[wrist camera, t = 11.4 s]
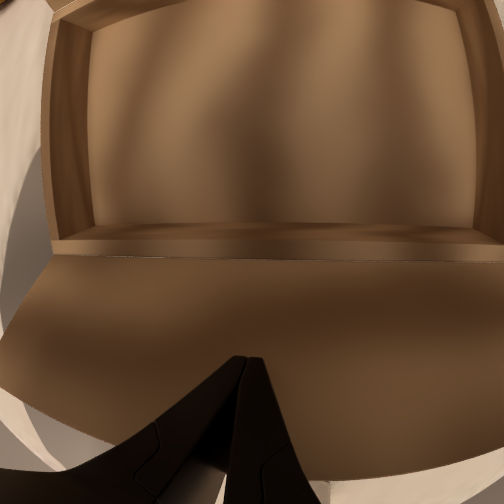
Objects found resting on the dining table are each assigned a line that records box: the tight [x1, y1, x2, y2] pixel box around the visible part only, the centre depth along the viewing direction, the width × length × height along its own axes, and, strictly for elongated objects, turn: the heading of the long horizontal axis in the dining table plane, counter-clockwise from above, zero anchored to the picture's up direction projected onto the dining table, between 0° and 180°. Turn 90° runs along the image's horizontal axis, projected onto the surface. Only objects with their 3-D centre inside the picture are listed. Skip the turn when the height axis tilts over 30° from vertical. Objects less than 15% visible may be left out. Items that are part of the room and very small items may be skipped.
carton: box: [41, 0, 504, 262], centre depth 12 cm, size 24×15×4 cm, turn 92°
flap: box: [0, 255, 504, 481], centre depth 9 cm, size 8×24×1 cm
